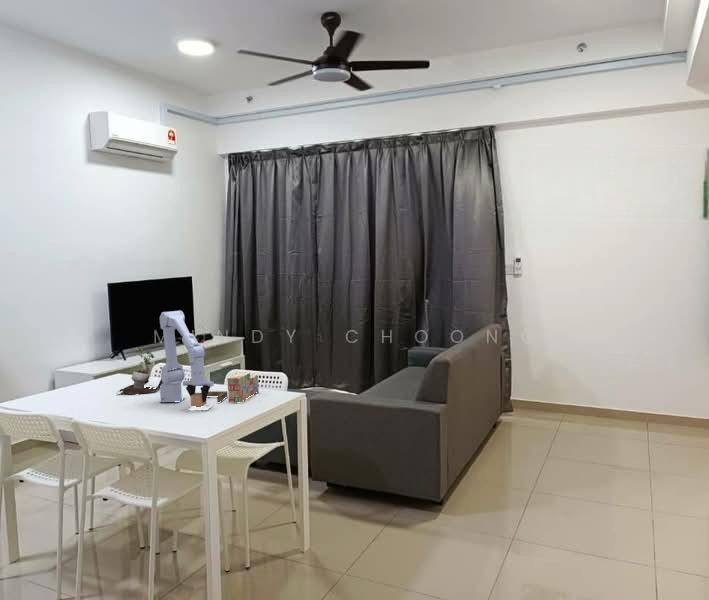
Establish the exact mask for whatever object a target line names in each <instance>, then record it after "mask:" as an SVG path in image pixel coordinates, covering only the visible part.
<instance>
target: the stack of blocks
mask: <svg viewBox="0 0 709 600" xmlns="http://www.w3.org/2000/svg"><path fill="white" fill-rule="evenodd" d="M258 376H259V375H258V374H251V372H237V373H234V374H233V375H231V376H229V377H227V398H228V403H229V402H241V401H243V400H245V399H246V398H248V397H249V396H251V395H253V394H255V393H256V392H258V391H260V389H259V377H258ZM258 393H259V392H258ZM255 395H256V394H255ZM253 396H254V395H253ZM245 401H246V400H245Z"/></svg>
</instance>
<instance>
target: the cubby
mask: <svg viewBox="0 0 709 600" xmlns="http://www.w3.org/2000/svg"><path fill="white" fill-rule="evenodd" d="M200 393H202V392H201V391H200ZM207 396H218V397H217V398H216V400H217V401H216V402H220V401H222V400H223V399H224V398H225V397H227V398H228V390H226V391H225V390H219V391H217V390H216V391H215V390H214V391H213V390H212V391H211V390H209V391H208V394H207ZM223 401H224V400H223ZM223 401H222V402H223Z"/></svg>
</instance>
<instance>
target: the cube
mask: <svg viewBox="0 0 709 600" xmlns="http://www.w3.org/2000/svg"><path fill="white" fill-rule="evenodd" d="M206 405H207V401H206V402H203V400H202V393H201V392H195V394H193V395H191V397H190V407H191V406H196V407H201V406H206Z"/></svg>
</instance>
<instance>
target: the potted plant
mask: <svg viewBox="0 0 709 600" xmlns="http://www.w3.org/2000/svg"><path fill="white" fill-rule="evenodd" d="M143 350H144V349H143V348H139V347H136V348H134V352H135V353H137V352H138V353H139V355H138V356H140V358H143V361H140V362H139V367H138V370H135V371H134V370H133V373H132V375H131V377H130V378H131V380H132V381H133V384H131V385H128V386H125V387H124V388H121V389H120V390H118V391H117V393H116V394H118V393H121V392H123V393H125V394H128V395H132V394H133V395H134V394H139V395H141V394H140V393H142V394H150V393H154V392H156V390H157V389H158V388H160V386H161V385H162V384H163V382H162V380H161V379H160V381H159V382H158V385H157V386H156V387H157V388H156V389H153V388H154V387H153V388H151V389H149V388H150V387H146V388H144V385H147V384H148V383H149V382H150V373H149V372H150V366H149V365H152V363H151V362H150V361H152V359H154V358H155V356H154V354H153V353H152V352H151V351H146V355H147V356H144V355H143V353H142V352H143ZM151 358H152V359H151ZM141 368H142V370H141ZM149 392H150V393H149Z"/></svg>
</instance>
